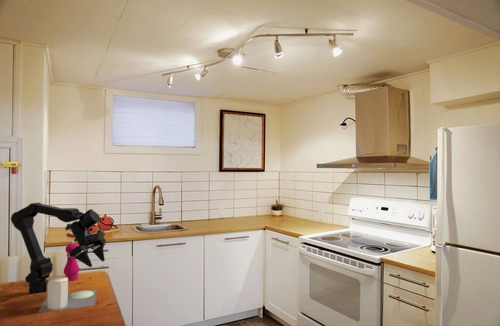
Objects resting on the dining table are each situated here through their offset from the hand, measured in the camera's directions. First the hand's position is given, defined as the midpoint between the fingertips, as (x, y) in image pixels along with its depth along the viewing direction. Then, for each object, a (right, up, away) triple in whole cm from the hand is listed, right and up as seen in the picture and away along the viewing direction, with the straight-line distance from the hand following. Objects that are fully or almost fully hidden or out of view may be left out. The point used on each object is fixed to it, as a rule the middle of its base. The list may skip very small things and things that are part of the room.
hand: (97, 263), depth 152 cm
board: (-9, -15, -6) cm, 18 cm away
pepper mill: (-25, -16, +26) cm, 39 cm away
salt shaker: (-11, -14, -12) cm, 21 cm away
